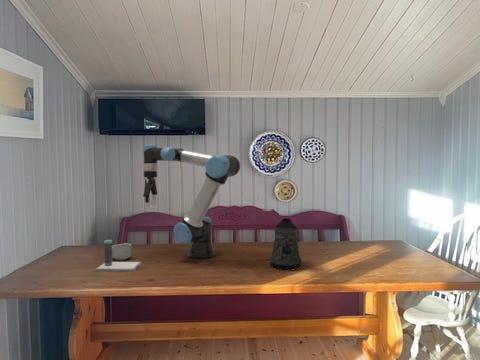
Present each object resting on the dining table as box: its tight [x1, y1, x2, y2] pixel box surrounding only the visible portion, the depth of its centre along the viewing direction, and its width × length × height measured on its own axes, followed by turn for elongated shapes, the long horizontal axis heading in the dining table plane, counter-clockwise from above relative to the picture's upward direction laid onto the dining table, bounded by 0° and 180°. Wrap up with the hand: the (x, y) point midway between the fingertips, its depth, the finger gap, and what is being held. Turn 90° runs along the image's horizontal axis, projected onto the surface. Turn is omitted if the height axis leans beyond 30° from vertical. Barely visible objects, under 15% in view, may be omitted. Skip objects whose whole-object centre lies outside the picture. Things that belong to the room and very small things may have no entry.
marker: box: [103, 239, 113, 266], centre depth 183 cm, size 4×4×13 cm
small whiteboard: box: [94, 261, 143, 272], centre depth 183 cm, size 20×14×1 cm
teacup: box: [112, 242, 132, 261], centre depth 200 cm, size 14×11×8 cm
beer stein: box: [269, 218, 302, 271], centre depth 186 cm, size 16×19×25 cm
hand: (150, 206), depth 207 cm, fingers open, 13 cm apart
